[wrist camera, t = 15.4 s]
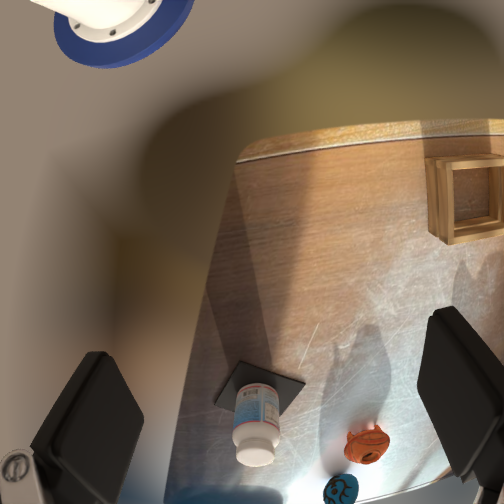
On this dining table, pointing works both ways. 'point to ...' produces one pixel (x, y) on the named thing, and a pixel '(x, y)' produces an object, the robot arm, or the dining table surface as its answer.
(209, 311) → the dining table surface
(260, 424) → the pill bottle
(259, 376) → the plate
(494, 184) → the crate
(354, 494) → the ornament
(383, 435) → the pot
